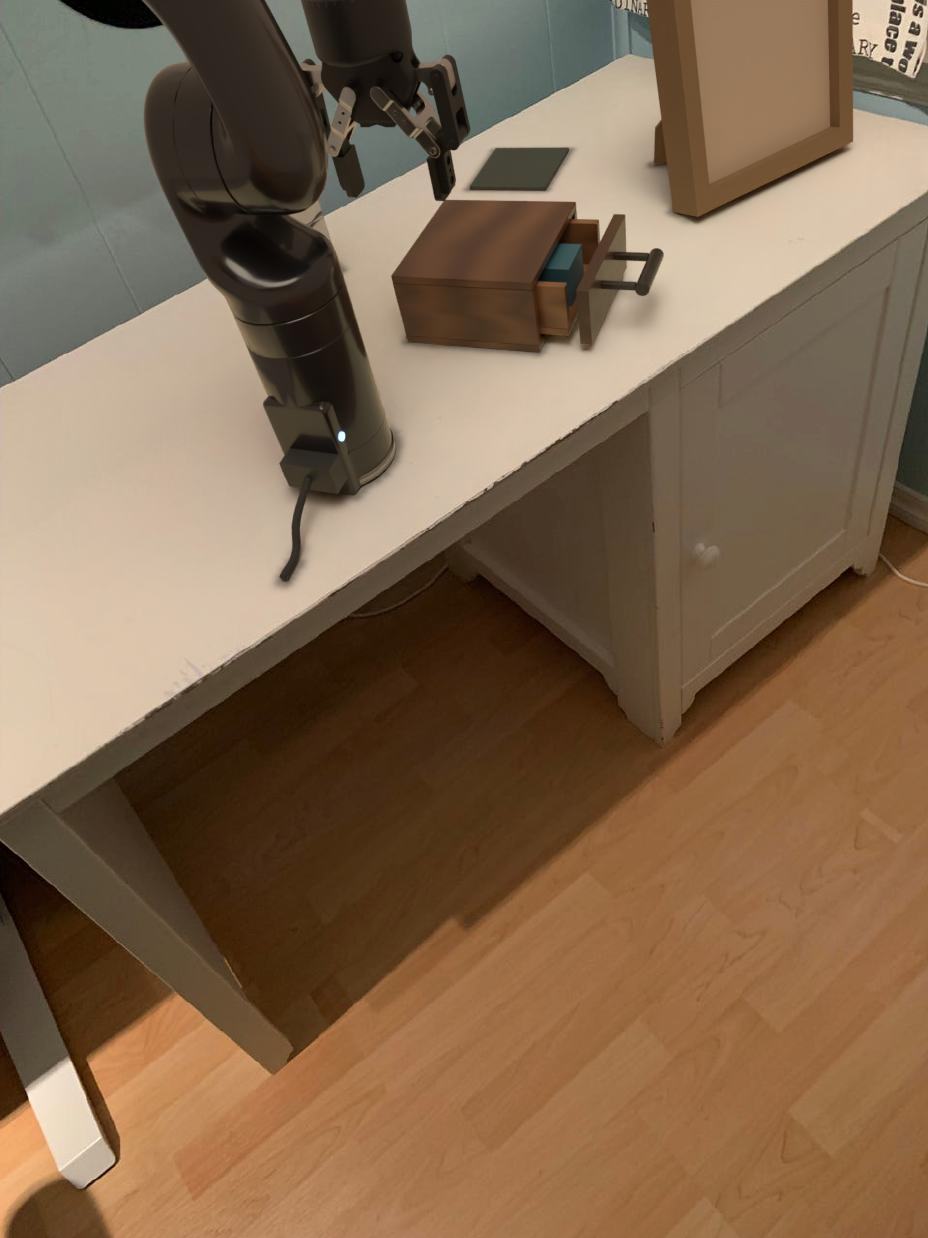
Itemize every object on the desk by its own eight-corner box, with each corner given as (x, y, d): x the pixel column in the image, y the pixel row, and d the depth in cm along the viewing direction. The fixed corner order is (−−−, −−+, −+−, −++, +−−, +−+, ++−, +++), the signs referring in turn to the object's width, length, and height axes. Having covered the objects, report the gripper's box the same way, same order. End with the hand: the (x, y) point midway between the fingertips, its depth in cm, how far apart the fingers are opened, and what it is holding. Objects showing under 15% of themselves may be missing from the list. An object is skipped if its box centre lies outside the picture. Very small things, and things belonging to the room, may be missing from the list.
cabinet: (581, 270, 94) (576, 201, 89) (540, 352, 87) (531, 282, 81) (457, 264, 99) (444, 199, 94) (407, 342, 92) (390, 275, 86)
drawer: (672, 269, 90) (672, 214, 85) (640, 348, 83) (639, 293, 78) (506, 262, 96) (498, 211, 92) (463, 335, 89) (453, 283, 85)
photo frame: (851, 150, 100) (897, -128, 81) (697, 225, 96) (707, -49, 77) (762, 113, 109) (784, -145, 90) (617, 180, 105) (608, -75, 86)
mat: (545, 190, 107) (545, 186, 106) (469, 189, 110) (469, 186, 110) (569, 150, 112) (568, 147, 112) (496, 150, 115) (495, 147, 115)
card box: (571, 306, 87) (568, 269, 84) (510, 302, 89) (505, 266, 86) (584, 280, 90) (581, 243, 86) (524, 277, 92) (519, 241, 89)
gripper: (240, 1, 64) (310, 215, 77) (414, -9, 59) (458, 221, 71) (289, -39, 68) (348, 171, 80) (456, -52, 63) (491, 174, 75)
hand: (400, 194), depth 76 cm, fingers open, 8 cm apart
